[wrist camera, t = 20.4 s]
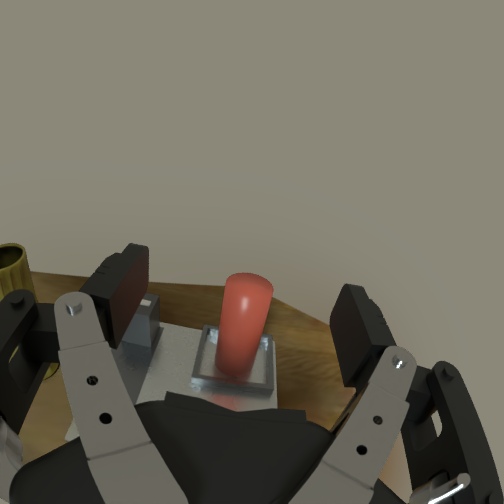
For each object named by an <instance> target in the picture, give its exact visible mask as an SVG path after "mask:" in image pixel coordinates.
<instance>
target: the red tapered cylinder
mask: <svg viewBox="0 0 504 504" xmlns="http://www.w3.org/2000/svg"><path fill="white" fill-rule="evenodd" d="M272 294H273V286H272V284H271V283H270V282H269V281H268V280H267V279H265V278H263V277H261V276H259V275H256V274H251V273H237V274H233V275H231V276H230V277H228V279H227V280H226V285H225V291H224V298H223V305H222V311H221V318H220V325H219V332H218V339H217V346H216V354H215V365H216V367H217V368H218V369H219V370H220V371H221V372H222V373H224V374H226V375H229V376H234V377H239V376H244V375H246V374H248V373H249V372H250V371H251V370H252V368H253V365H254V362H255V358H256V355H257V351H258V347H259V344H260V340H261V336H262V333H263V329H264V325H265V321H266V318H267V314H268V310H269V306H270V302H271V298H272Z"/></svg>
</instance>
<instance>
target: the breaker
mask: <svg viewBox="0 0 504 504" xmlns="http://www.w3.org/2000/svg"><path fill="white" fill-rule="evenodd" d="M159 327H160V313H159V295H155V294H150V293H145V295H144V297H143V299H142V301H141V303H140V305H139V307H138V309H137V311H136V312H135V314H134V316H133V318H132V320H131V322H130V324H129V326H128V328H127V330H126V332H125V334H124V336H123V338H122V341H126V342H129V343H133V344H137V345H141V346H145V347H150V348H151V347H152V344H153V342H154V339H155V337H156V334H157V332H158V330H159Z"/></svg>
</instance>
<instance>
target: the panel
mask: <svg viewBox="0 0 504 504" xmlns="http://www.w3.org/2000/svg"><path fill="white" fill-rule="evenodd" d="M218 332H219V327H217V326H211V325H206V324H204V326H203V330H198V329H193V328H188V327H182V326H177V325H173V324H168V323H163V322H160V327H159V330H158V332H157V334H156V337H155V339H154V342H153V344H152V347H151V348H150V347H145V346H141V345H137V344H133V343H129V342H126V341H122V340H121V342H120V344H119V346H118V348H117V350H116V349H112V348H110V350H111V352H112V355H113V358H114V360H115V363H116V366H117V368H118V371H119V373H120V376H121V378H122V380H123V383H124V385H125V388H126V390H127V392H128V395H129V397H130V399H131V401H132V403H133V405H136V404H139V403H142V402H147V401H155V400H164V399H165V395H166V391H169V392H174V393H178V394H183V395H188V396H193V397H198V398H202V399H204V400H207V401H209V402H212V403H214V404H217V405H219V406H222V407H225V408H227V409H230V410H233V411H238V412H239V411H251V410H261V409H269V408H277V382H276V355H275V341H273V336H272V335H269V334H262V336H261V340H260V344H259V347H258V351H257V355H256V358H255V362H254V365H253V368H252V370H251V371H250V372H249V373H248V374H246V375H244V376H239V377H234V376H229V375H226V374H224V373H222V372H221V371H220V370H219V369H218V368H217V367H216V365H215V354H216V346H217V339H218ZM78 436H79V433H78V430H77V427H76V424H75V421H74V419H73V421H72V423H71V425H70V428H69V430H68V432H67V434H66V437H65V440H66V442H69V441H71V440H73V439H75V438H77V437H78Z"/></svg>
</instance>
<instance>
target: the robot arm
mask: <svg viewBox="0 0 504 504" xmlns="http://www.w3.org/2000/svg"><path fill="white" fill-rule="evenodd" d="M148 272H149V249H148V247H147V246H143V245H138V244H133V243H130V244H129V245H128V246H127V247H126V248H125V249H124V251H123V252H122V253H114V254H113V255H111V256H109V257H107V258H106V259H105V260H104V261H103V262H102V263H101V265H100V267H98V268H97V269H96V271H95V273H93V274H92V275H91V277H90V278H89V279H88V280H87V282H86V283H85V284H84V285H83V286H82V288H81V289H80V290H79V292H70V293H66V294H64V295H62V296H61V297H59V298H58V299H57V301H56V302H55V304H50V303H36V300H35V297H34V294H33V293H32V292H31V291H29V290H26V289H18V290H14V291H12V292H10V293H8V294H7V295H6V296H5V297H4V298H3V299H2V300H1V301H0V498H1V499H3V500H5V501H6V502H8V503H10V504H406V503H405V502H404V501H403V500H402V499H400V498H399V497H398V496H397V495H396V494H395V493H394V492H393V491H392V490H391V489H389V488H388V487H387V486H386V485H385V484H384V483H383V482H382V481H381V480H380V479H379V478H378V477H379V475H380V473H381V471H382V469H383V467H384V465H385V463H386V460H387V458H388V456H389V454H390V452H391V450H392V448H393V445H394V443H395V441H396V439H397V436H398V434H399V431H400V430H401V434H402V439H403V443H404V448H405V453H406V457H407V463H408V468H409V473H410V479H411V485H412V490H413V493H412V494H411V496H410V500H409V503H408V504H503V502H504V498H503V493H502V489H501V485H500V481H499V477H498V474H497V470H496V467H495V463H494V460H493V457H492V453H491V450H490V447H489V445H488V442H487V439H486V436H485V433H484V430H483V428H482V425H481V422H480V419H479V417H478V414H477V412H476V409H475V407H474V404H473V402H472V400H471V397H470V395H469V393H468V390H467V388H466V386H465V384H464V381H463V379H462V377H461V375H460V373H459V371H458V370H457V369H456V368H455V367H454V366H453V365H452V364H450V363H448V362H445V361H439V362H437V363H436V364H435V365H434V367H433V368H432V369H431V370H430V369H427V368H424V367H421V366H417V363H416V360H415V358H414V357H413V355H412V354H411V353H410V352H409V351H407V350H406V349H404V348H402V347H399V346H397V345H396V343H395V341H394V338H393V336H392V334H391V332H390V329H389V327H388V325H386V321H385V319H384V318H383V314H382V312H381V310H380V308H379V307H378V306H377V305H376V304H375V303H374V302H373V301H372V300H371V299H369V298H368V296H367V294H366V292H365V290H364V288H363V287H362V286H358V285H351V284H345V285H344V286H343V287H342V289H341V292H340V294H339V296H338V299H337V301H336V303H335V306H334V308H333V310H332V312H331V316H330V329H331V333H332V337H333V341H334V345H335V349H336V353H337V358H338V362H339V366H340V370H341V374H342V379H343V383H344V387H355V388H356V392H355V394H354V395H353V396H352V398H351V399H350V401H349V403H348V404H347V406H346V407H345V409H344V410H343V412H342V413H341V415H340V416H339V418H338V419H337V421H336V422H335V424H334V425H333V427H332V428H331V429H330V431H328V430H327V429H325V428H324V427H322V426H320V425H318V424H316V423H313V422H311V421H307V420H306V413H305V410H289V409H277V408H269V409H261V410H251V411H239V412H238V411H233V410H230V409H227V408H225V407H222V406H219V405H217V404H214V403H212V402H209V401H207V400H204V399H202V398H198V397H193V396H188V395H183V394H178V393H174V392H169V391H166V395H165V399H164V400H155V401H147V402H142V403H139V404H136V405H133V403H132V401H131V399H130V397H129V395H128V392H127V390H126V388H125V385H124V383H123V380H122V378H121V376H120V373H119V371H118V368H117V366H116V363H115V360H114V358H113V355H112V352H111V350H110V348H112V349H116V350H117V348H118V346H119V344H120V342H121V340H122V338H123V336H124V334H125V332H126V330H127V328H128V326H129V324H130V322H131V320H132V318H133V316H134V314H135V312H136V311H137V309H138V307H139V305H140V303H141V301H142V299H143V297H144V295H145V293H146V291H147V287H148V280H149V275H148V274H149V273H148ZM17 346H18V349H17V351H16V353H15V354H14V356H13V358H12V359H11V361H10V363H9V360H10V357H11V356H12V354H13V352H14V351H15V349H16V348H17ZM51 363H60V365H61V370H62V375H63V379H64V383H65V388H66V392H67V396H68V400H69V403H70V407H71V410H72V414H73V417H74V421H75V424H76V427H77V430H78V433H79V436H78V437H77V438H75V439H73V440H71V441H69V442H68V443H66V444H64V445H62V446H60V447H58V448H56V449H55V450H53V451H51V452H49V453H47V454H45V455H43V456H41V457H39V458H37V459H35V460H33V461H31V462H29V463H27V464H25V465H24V466H23V467H22V463H21V462H22V460H23V456H22V452H23V448H22V443H21V440H20V438H19V437H18V434H19V432H20V429H21V427H22V424H23V422H24V420H25V417H26V415H27V413H28V410H29V408H30V406H31V404H32V401H33V399H34V397H35V395H36V393H37V391H38V389H39V386H40V384H41V382H42V380H43V378H44V376H45V374H46V372H47V370H48V368H49V366H50V364H51ZM436 410H438V413H439V416H440V419H441V423H442V431H441V434H440V435H439V437H437V434H436V430H435V427H434V424H433V420H432V417H431V415H432V414H433V413H435V411H436Z"/></svg>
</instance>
